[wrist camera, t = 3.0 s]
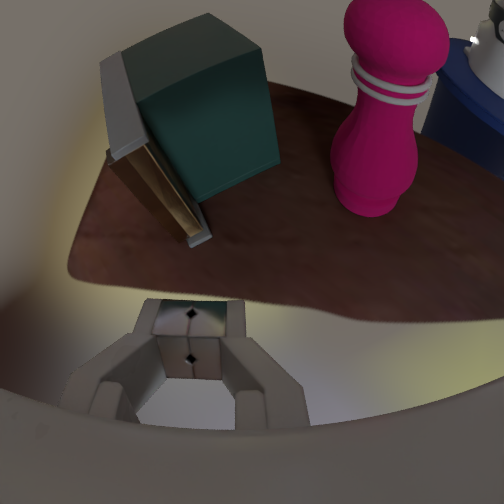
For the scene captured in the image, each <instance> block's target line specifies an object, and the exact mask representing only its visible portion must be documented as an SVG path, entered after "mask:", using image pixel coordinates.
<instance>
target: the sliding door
mask: <svg viewBox="0 0 504 504" xmlns="http://www.w3.org/2000/svg"><path fill="white" fill-rule="evenodd" d="M140 114H141V113H140ZM141 117H142V115H141ZM142 120H143V123H144V126H145V129H146V132H147V135H148V138H149V142H147V143H145V144H144V145H142V146H140V147H139V148H137V149H135V150H133V151H132V152H130V153H128V154H127V155H125V156H123V157H122V158H120V159H118V160H117V161H116V160H115V159H114V158H113V157H112V155H111V151H110V148H109V149H108V150H106V155H107V162H108V166H109V167H110V168H111V169H112V170H113V172H114V173H115V174H116V175H117V176H118V177H119V178H120V180H121V181H122V182H123V183H124V184H125V185H126V186H127V187H128V189H129V190H130V191H131V192H132V193H133V194H134V195H135V196H136V197H137V199H138V200H139V201H140V202H141V203H142V204H143V205H144V206H145V207H146V209H147V210H148V211H149V212H150V213H151V214H152V215H153V216H154V217H155V218H156V219H157V220H158V222H159V223H160V224H161V225H162V226H163V227H164V228H165V229H166V230H167V231H168V232H169V233H170V234H171V235H172V237H173V238H174V239H175V240H176V241H177V242H178V243H180V242H182V241H184V240H186V239H188V238H190V237H192V236H194V235H195V234H197V233H199V232H201V231H203V227H202V225H201V223H200V220H199V218H198V216H197V214H196V211H195V209H194V207H193V205H192V202H191V200H190V198H189V195H188V193H187V191H186V188H185V186H184V184H183V181H182V180H181V178H180V176H179V175H178V173H177V172H176V170H175V168H174V167H173V165H172V164H171V162H170V160H169V159H168V157H167V156H166V154H165V152H164V151H163V149H162V148H161V146H160V144H159V143H158V141H157V139H156V138H155V136H154V135H153V133H152V131H151V130H150V128H149V126H148V125H147V123H146V122H145V120H144V118H143V117H142Z"/></svg>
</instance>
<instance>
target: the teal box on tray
mask: <svg viewBox="0 0 504 504" xmlns="http://www.w3.org/2000/svg"><path fill="white" fill-rule="evenodd" d="M100 74H101V84H102V94H103V103H104V111H105V118H106V126H107V132H108V139H109V145H110V151H111V155H112V157H113V158H114V159H115V160H116V161H117V160H118V159H120V158H122V157H123V156H125V155H127V154H128V153H130V152H132V151H133V150H135V149H137V148H139V147H140V146H142V145H144V144H145V143H147V142H149V138H148V135H147V132H146V129H145V126H144V123H143V120H142V117H143V118H144V120H145V122H146V123H147V125H148V126H149V128H150V130H151V131H152V133H153V135H154V136H155V138H156V139H157V141H158V143H159V144H160V146H161V148H162V149H163V151H164V152H165V154H166V156H167V157H168V159H169V160H170V162H171V164H172V165H173V167H174V168H175V170H176V172H177V173H178V175H179V176H180V178H181V180H182V181H183V184H184V186H185V188H186V191H187V193H188V195H189V198H190V200H191V202H192V205H193V207H194V209H195V211H196V214H197V216H198V218H199V220H200V223H201V225H202V227H203V231H201V232H199V233H197V234H195V235H194V236H192V237H190V238H188V239H186V240H187V242H188V245H189V246H190V247H191V248H193V247H195V246H196V245H198V244H200V243H202V242H204V241H206V240H208V239H210V238H212V237H213V236H212V234H211V232H210V229H209V227H208V225H207V223H206V221H205V218H204V216H203V214H202V212H201V210H200V207H199V205H198V203H200V202H202V201H204V200H206V199H208V198H210V197H212V196H214V195H216V194H218V193H220V192H222V191H224V190H226V189H228V188H230V187H232V186H234V185H236V184H238V183H240V182H242V181H244V180H246V179H248V178H250V177H252V176H254V175H256V174H258V173H260V172H262V171H265V170H267V169H269V168H271V167H273V166H275V165H277V164H280V163H281V161H280V155H279V148H278V142H277V136H276V129H275V123H274V117H273V111H272V105H271V100H270V94H269V88H268V83H267V77H266V72H265V67H264V61H263V55H262V50H261V48H260V47H259V46H258V45H256V44H255V43H254V42H252V41H251V40H249V39H248V38H247V37H245V36H244V35H242V34H241V33H239V32H238V31H236V30H235V29H233V28H232V27H230V26H229V25H227V24H226V23H224V22H223V21H221V20H219V19H218V18H216V17H215V16H213V15H211V14H210V13H206V14H204V15H201V16H198V17H195V18H193V19H190V20H188V21H185V22H183V23H181V24H178V25H175V26H173V27H171V28H168V29H166V30H164V31H162V32H159V33H157V34H155V35H153V36H151V37H149V38H147V39H145V40H143V41H141V42H139V43H137V44H135V45H133V46H131V47H129V48H127V49H125V50H124V51H122V52H121V51H118V52H116V53H115V54H113V55H111V56H109V57H108V58H106V59H104V60H103V61H101V62H100ZM140 113H141V114H140ZM141 115H142V117H141Z"/></svg>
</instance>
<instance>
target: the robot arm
mask: <svg viewBox="0 0 504 504" xmlns="http://www.w3.org/2000/svg"><path fill="white" fill-rule="evenodd" d="M489 18H490V19H488V20H485V21H481V22H480V24H479V27H478V30H477V32H476V35H475V37H471V41H473V43H472V46H471V47H465V48H464V53H465V54H466V56H467V57H468V62H469V66H470V68H471V69H472V71H473V72H474V74H475V75H476V76H477V77H478V78H479V79H480V80H481V81H482V82H483V83H484V84H485V85H486V86H487V87H488V88H490V89H491V90H492V91H493V92H494V93H496V94H497V95H498V96H500V97H501V98H503V99H504V0H493V1H492V4H491V5H490V11H489ZM167 378H181V379H182V378H183V379H205V380H222V381H223V383H224V384H225V386H226V387H227V389H228V390H229V392H230V393H231V395H232V396H233V397H234V399H235V430H208V429H189V428H176V427H165V426H155V425H147V424H141V423H140V421H139V420H138V417H137V415H136V413H137V412H138V411H139V410H140V408H141V407H142V406H143V405H144V404H145V403H146V402H147V401H148V400H149V398H150V397H151V396H152V395H153V394H154V393H155V392H156V391H157V389H159V388H160V386H161V385H162V384H163V383H164V382H165V381H166V380H167ZM0 504H504V376H503V377H500V378H498V379H496V380H493V381H491V382H489V383H486V384H484V385H481V386H478V387H476V388H473V389H470V390H468V391H465V392H462V393H459V394H456V395H454V396H450V397H447V398H444V399H441V400H438V401H434V402H431V403H428V404H424V405H421V406H417V407H413V408H409V409H405V410H401V411H397V412H392V413H388V414H383V415H379V416H374V417H368V418H363V419H357V420H351V421H345V422H339V423H331V424H324V425H315V426H310V421H309V416H308V411H307V406H306V400H305V396H304V391H303V387H302V386H301V385H300V384H299V383H298V382H297V381H296V380H295V379H293V378H292V377H291V376H290V375H289V374H288V373H287V372H286V371H285V370H284V369H283V368H282V367H281V366H280V365H279V364H278V363H277V362H276V361H275V360H274V359H273V358H272V357H270V355H269V354H268V353H266V352H265V351H264V350H263V349H262V348H261V347H260V346H259V345H258V344H257V343H256V342H255V341H254V340H253V339H252V338H246V319H245V302H244V300H232V301H192V300H191V301H190V300H172V299H149V298H147V299H146V300H145V301H144V304H143V307H142V309H141V312H140V314H139V317H138V319H137V322H136V325H135V327H134V330H133V333H127V334H126V335H124V336H123V337H122V338H120V339H119V340H117V341H116V342H115V343H113V344H112V345H110V346H109V347H107V348H106V349H105V350H103V351H102V352H101V353H99V354H98V355H96V356H95V357H93V358H92V359H91V360H89V361H88V362H87V363H85V364H84V365H82V366H81V367H79V368H78V369H77V370H75V371H74V372H72V373H71V375H70V377H69V379H68V381H67V384H66V386H65V388H64V391H63V393H62V395H61V398H60V401H59V403H58V405H57V407H56V406H53V405H49V404H45V403H42V402H39V401H36V400H32V399H29V398H26V397H23V396H20V395H18V394H15V393H12V392H9V391H7V390H4V389H1V388H0Z"/></svg>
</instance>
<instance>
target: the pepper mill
mask: <svg viewBox="0 0 504 504" xmlns="http://www.w3.org/2000/svg"><path fill="white" fill-rule="evenodd" d="M344 34H345V38H346V40H347V42H348V44H349V45H350V47H351V49H352V50H353V51H354V52H355V53H354V55H353V56H352V61H351V62H352V69H351V77H352V79H353V81H354V83H355V84H356V85H357V86H358V96H357V102H356V105H355V107H354V109H353V111H352V112H351V114H350V115H349V116H348V117H347V118H346V120H345V121H344V122H343V123H342V124H341V126H340V127H339V129H338V131H337V133H336V135H335V136H334V138H333V142H332V147H331V151H330V160H331V165H332V169H333V171H334V173H335V174H334V190H335V194H336V196H337V198H338V200H339V201H340V202H341V203H342V205H343V206H344V207H346V208H347V209H348V210H350V211H351V212H353V213H355V214H358V215H361V216H366V217H377V216H381V215H384V214H386V213H388V212H389V211H391V210H392V209H393V208H394V206H395V205H396V203H397V201H398V199H399V197H400V194H402V193H404V192H405V191H406V190H407V189H408V188H409V186H410V185H411V184H412V182H413V180H414V177H415V173H416V169H417V166H418V152H417V145H416V141H415V137H414V132H413V116H414V112H415V109H416V107H417V105H418V104H419V103H421V102H423V101H425V100H426V98H427V96H428V95H429V87H430V86H431V84H432V76H431V74H433V73H434V72H436V71H438V70H439V69H440V68H441V67H442V66H443V65H444V64H445V62H446V60H447V57H448V53H449V47H450V40H449V34H448V30H447V27H446V25H445V23H444V21H443V19H442V18H441V17H440V15H439V14H438V13H437V12H436V11H435V9H433V8H432V7H431V6H430V5H429V4H427V3H426V2H424V1H422V0H353V1H352V2H351V3H350V4H349V6H348V8H347V10H346V13H345V17H344Z"/></svg>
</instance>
